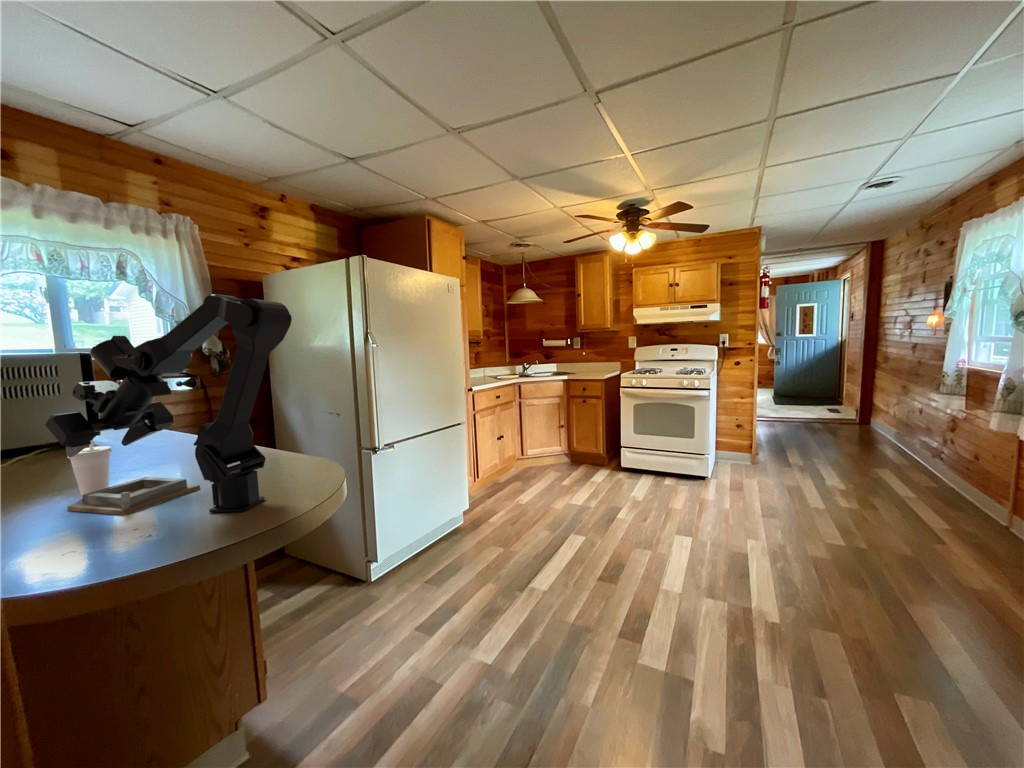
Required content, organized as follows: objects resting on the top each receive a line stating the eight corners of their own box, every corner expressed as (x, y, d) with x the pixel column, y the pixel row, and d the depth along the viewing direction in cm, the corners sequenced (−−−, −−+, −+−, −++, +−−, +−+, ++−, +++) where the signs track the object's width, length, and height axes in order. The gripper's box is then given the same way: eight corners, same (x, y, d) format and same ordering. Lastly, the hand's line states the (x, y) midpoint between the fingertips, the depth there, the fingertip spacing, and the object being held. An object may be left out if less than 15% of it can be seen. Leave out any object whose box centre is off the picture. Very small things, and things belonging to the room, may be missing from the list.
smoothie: (88, 502, 81) (79, 432, 80) (63, 500, 82) (54, 431, 81) (124, 491, 87) (117, 425, 86) (101, 489, 88) (93, 425, 87)
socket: (200, 488, 87) (198, 471, 87) (125, 515, 74) (123, 494, 73) (148, 485, 90) (146, 468, 90) (67, 510, 77) (65, 490, 76)
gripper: (159, 364, 90) (125, 413, 93) (46, 369, 72) (9, 430, 75) (191, 401, 89) (155, 449, 92) (85, 415, 71) (46, 475, 74)
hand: (97, 449), depth 83 cm, fingers open, 9 cm apart
